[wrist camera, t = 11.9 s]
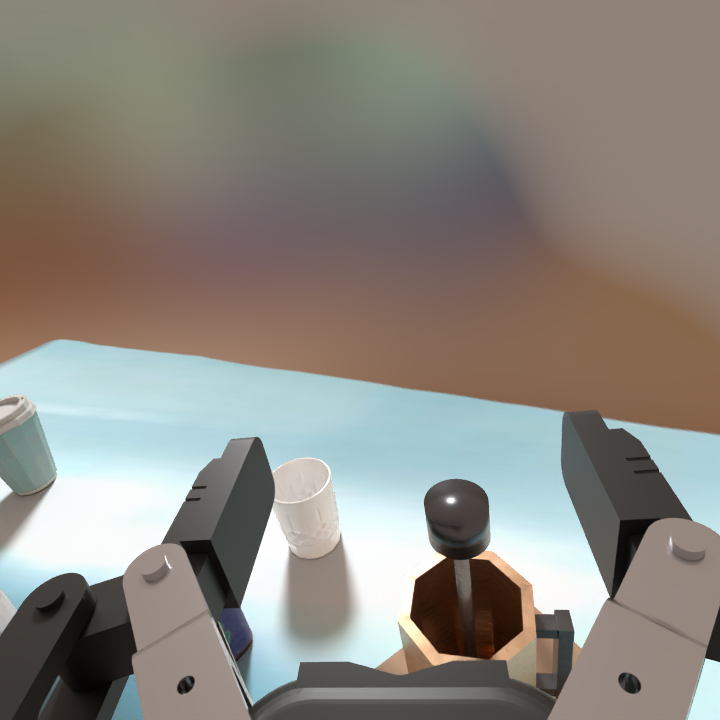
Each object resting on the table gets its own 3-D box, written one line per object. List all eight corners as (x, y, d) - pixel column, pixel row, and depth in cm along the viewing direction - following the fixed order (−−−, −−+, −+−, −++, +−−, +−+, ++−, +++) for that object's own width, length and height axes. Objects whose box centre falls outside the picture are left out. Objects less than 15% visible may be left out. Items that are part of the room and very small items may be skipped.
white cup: (358, 531, 63) (344, 472, 58) (313, 575, 58) (294, 514, 54) (317, 506, 68) (301, 449, 64) (272, 544, 64) (252, 486, 59)
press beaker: (479, 812, 36) (468, 710, 30) (399, 695, 44) (376, 594, 38) (576, 715, 41) (585, 606, 34) (487, 624, 49) (480, 522, 42)
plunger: (473, 762, 38) (451, 561, 27) (421, 691, 43) (385, 498, 32) (531, 707, 41) (531, 504, 30) (476, 646, 46) (459, 454, 35)
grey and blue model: (246, 625, 54) (216, 559, 49) (260, 643, 52) (231, 576, 47) (167, 692, 49) (125, 626, 44) (179, 714, 47) (137, 648, 42)
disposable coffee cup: (3, 515, 78) (-50, 440, 71) (0, 482, 86) (-47, 412, 79) (74, 481, 83) (32, 407, 76) (65, 453, 91) (27, 384, 84)
